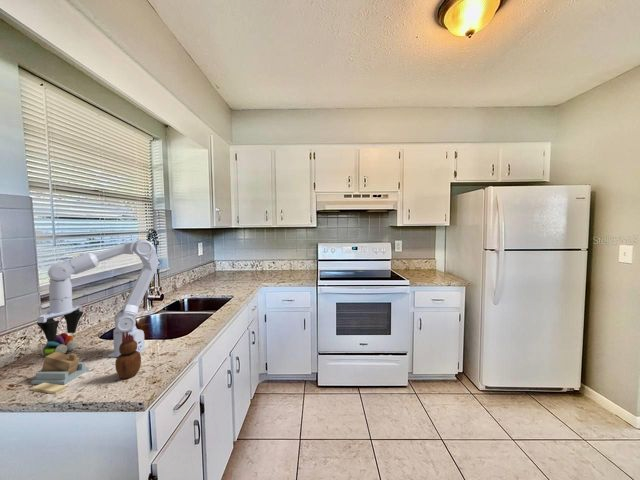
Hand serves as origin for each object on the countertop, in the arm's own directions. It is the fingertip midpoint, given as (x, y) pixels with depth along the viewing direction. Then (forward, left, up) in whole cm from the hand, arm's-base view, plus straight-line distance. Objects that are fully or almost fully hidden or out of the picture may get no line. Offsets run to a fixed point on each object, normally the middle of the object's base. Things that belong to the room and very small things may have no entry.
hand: (61, 336), depth 97 cm
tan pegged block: (-6, +7, -8) cm, 12 cm away
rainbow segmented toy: (+11, -11, -11) cm, 19 cm away
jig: (-6, +7, -10) cm, 14 cm away
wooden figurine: (-27, +6, -11) cm, 30 cm away
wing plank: (-9, +14, -11) cm, 20 cm away
